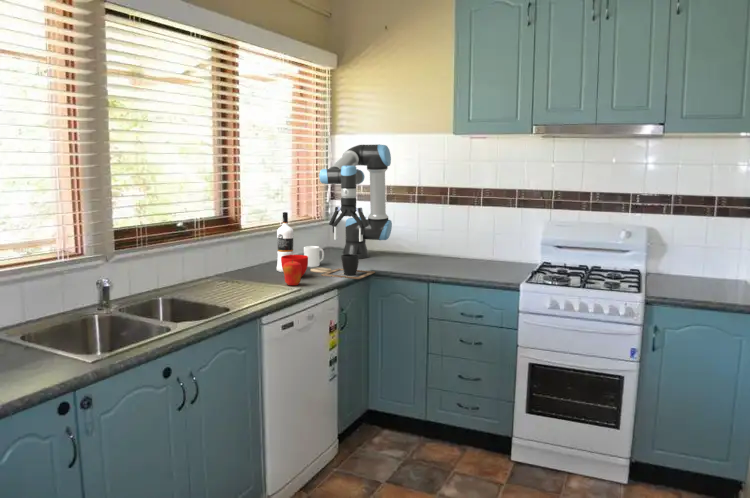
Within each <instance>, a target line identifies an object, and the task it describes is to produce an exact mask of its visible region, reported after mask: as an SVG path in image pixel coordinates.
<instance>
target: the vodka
mask: <svg viewBox="0 0 750 498" xmlns="http://www.w3.org/2000/svg"><path fill="white" fill-rule="evenodd" d="M288 214H289V213H288V212H287V211H284V212H282V225H281V226H279V227H278V229H277V230H276V238H277V259H276V261H277V262H276V271H277V272H279V273H284V271H283V269H282V264H281V257H282V256H285V255H295V254H294V253H295V251H294V229H293V228H292V227H291V226H290V225H289V216H288Z"/></svg>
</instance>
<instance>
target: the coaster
mask: <svg viewBox="0 0 750 498" xmlns="http://www.w3.org/2000/svg"><path fill="white" fill-rule="evenodd" d="M332 270H333V269H332V268H330V267H311V268H310V270H309V271H310V272H311V273H320V274H324V273H326V272H329V271H332Z"/></svg>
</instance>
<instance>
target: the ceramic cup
mask: <svg viewBox="0 0 750 498" xmlns="http://www.w3.org/2000/svg"><path fill="white" fill-rule="evenodd" d="M292 259H293V261H295V262H298V263H300V264H301V266H302V271H301V278H302V277H304V275H305V273H306V272H307V269H308V267H307V266H308V256H305V255H304V254H294V255H285V256H282V257H281V264H282V269H283V266H284V264H285V263H287V262H289V261H292Z"/></svg>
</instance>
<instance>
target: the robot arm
mask: <svg viewBox="0 0 750 498" xmlns="http://www.w3.org/2000/svg"><path fill="white" fill-rule="evenodd" d="M391 154H392V153H391V151H390V148H389V147H388V145H386V144H358V145H355V146H353V147H350V148H348V149H347V150H345V151H344V153H342V157H340V159H338V160H337V161H336V162H335V163H334V164H332V166H330V167H329V168H322V169H320V171H319V175H318V176H319V177H318V178H319V182H320V183H321V184H324V185H340V197H341V198H340V206H335V207H334V212H333V214H332V217H331V219H330V220H329V224H328V225H329V226H332V234H333V240H334V241H336V240H337V241H338V240H339V226H338V224H339V223H340V222H341V221H342V219H343V218H345V217H348V218H347V219H345V244H344V247H343V251H342V255H345V254H356V255H359V259H367V258H369V249H368V247H367V244H366V243H367V242H366V240H369V241H370V240H371V241H387V240H389V238H390V236H391V233H392V228H393V227H392V226H393V223H392V220H391V219H389V216H388V214H387V213H386V212H387V211H386V209H387V208H386V207H387V206H386V204H387V203H386V171H388V169H389V166H391V162H392V155H391ZM357 166H366V170H367V171H368V172H369V194H370V195H369V197H370V199H369V200H370V214H369V215H368V217H366V216H365V215H364V212H363V208H362V207H357V185H360V184H362V183H363V182H364V180H365V173H364V171H362V170H361V169H358V168H357ZM340 211H341V213H340V214H339V212H340ZM356 212H357V213H356ZM338 215H339V216H338ZM358 215H359V216H358Z"/></svg>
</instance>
